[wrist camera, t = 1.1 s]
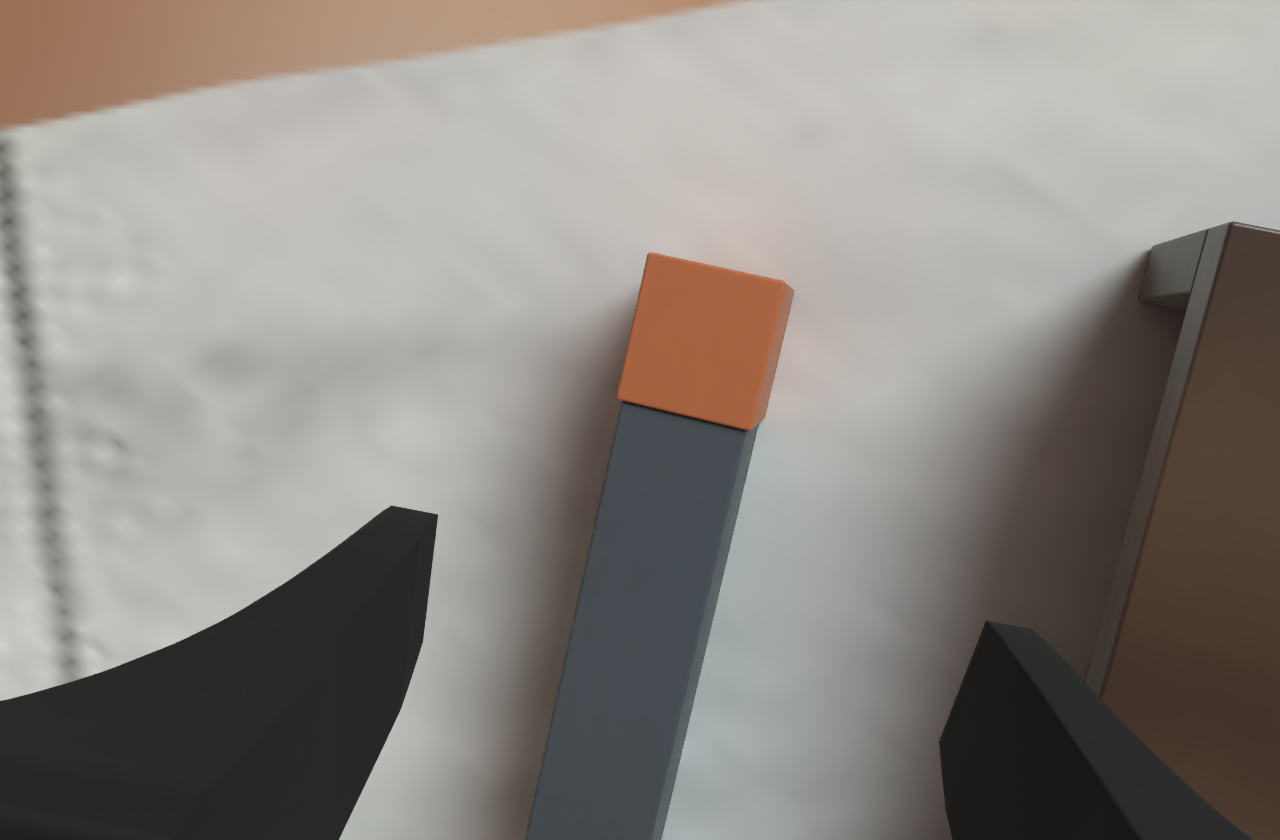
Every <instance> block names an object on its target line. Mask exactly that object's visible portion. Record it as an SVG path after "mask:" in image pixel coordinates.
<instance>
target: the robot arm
mask: <svg viewBox="0 0 1280 840" xmlns="http://www.w3.org/2000/svg"><path fill="white" fill-rule="evenodd" d="M437 519H438V515H437V514H432V513H427V512H422V511H417V510H412V509H406V508H401V507H396V506H390V507H389V508H387V509H385V510H384V511H382V512H381V513H380V514H378V515H377V516H376V517H374V518H373V519H372V520H370V521H369V522H368V523H367V524H365V525H364V526H363V527H362V528H360V529H359V530H358V531H356V532H355V533H354V534H353V535H351V536H350V537H349V538H347V539H346V540H345V541H343V542H342V543H341V544H339V545H338V546H337V547H335V548H334V549H333V550H331V551H330V552H329V553H327V554H326V555H324V556H323V557H322V558H320V559H319V560H317V561H316V562H315V563H313V564H312V565H310V566H309V567H307V568H306V569H305V570H303V571H302V572H300V573H299V574H298V575H296V576H295V577H293V578H292V579H290V580H289V581H287V582H286V583H284V584H283V585H281V586H279V587H278V588H276V589H275V590H273V591H271V592H270V593H268V594H267V595H265V596H263V597H262V598H260V599H259V600H257V601H255V602H254V603H252V604H250V605H249V606H247V607H246V608H244V609H242V610H241V611H239V612H237V613H235V614H234V615H232V616H230V617H228V618H226V619H224V620H223V621H221V622H219V623H217V624H215V625H213V626H211V627H209V628H207V629H204V630H202V631H200V632H198V633H196V634H194V635H192V636H190V637H188V638H186V639H184V640H182V641H179V642H177V643H175V644H173V645H170V646H168V647H165V648H163V649H160V650H158V651H155V652H152V653H150V654H147V655H145V656H142V657H140V658H137V659H135V660H132V661H130V662H127V663H125V664H122V665H120V666H117V667H115V668H112V669H109V670H106V671H103V672H101V673H98V674H94V675H91V676H88V677H85V678H82V679H79V680H76V681H73V682H70V683H66V684H63V685H59V686H56V687H53V688H49V689H46V690H42V691H39V692H35V693H32V694H28V695H24V696H20V697H16V698H12V699H8V700H3V701H0V840H339V838H340V836H341V834H342V832H343V830H344V828H345V825H346V823H347V821H348V819H349V817H350V815H351V813H352V811H353V809H354V807H355V805H356V802H357V800H358V798H359V796H360V794H361V792H362V790H363V788H364V786H365V784H366V782H367V779H368V777H369V775H370V773H371V771H372V769H373V767H374V765H375V763H376V761H377V759H378V756H379V754H380V752H381V750H382V748H383V746H384V744H385V742H386V740H387V737H388V735H389V733H390V731H391V729H392V727H393V725H394V723H395V720H396V718H397V716H398V714H399V712H400V710H401V707H402V704H403V701H404V698H405V695H406V692H407V689H408V686H409V683H410V680H411V677H412V674H413V671H414V668H415V665H416V662H417V659H418V656H419V652H420V649H421V646H422V643H423V636H424V628H425V619H426V611H427V603H428V594H429V586H430V578H431V569H432V561H433V552H434V544H435V536H436V527H437ZM939 745H940V757H941V769H942V781H943V789H944V798H945V806H946V814H947V818H948V822H949V827H950V831H951V835H952V839H953V840H1252V839H1251V838H1250V837H1249V836H1247V835H1246V834H1245V833H1244V832H1242V831H1241V830H1240V829H1239V828H1237V827H1236V826H1235V825H1234V824H1233V823H1231V822H1230V821H1229V820H1228V819H1226V818H1225V817H1224V816H1223V815H1221V814H1220V813H1219V812H1218V811H1217V810H1216V809H1214V808H1213V807H1212V806H1211V805H1210V804H1209V803H1207V802H1206V801H1205V800H1204V799H1203V798H1202V797H1201V796H1199V795H1198V794H1197V793H1196V792H1195V791H1194V790H1193V789H1192V788H1191V787H1190V786H1189V785H1187V784H1186V783H1185V782H1184V781H1183V780H1182V779H1181V778H1180V777H1179V776H1178V775H1177V774H1176V773H1174V772H1173V771H1172V770H1171V769H1170V768H1169V767H1168V766H1167V765H1166V764H1165V763H1164V762H1163V761H1162V760H1160V759H1159V758H1158V757H1157V756H1156V755H1155V754H1154V753H1153V752H1152V751H1151V750H1150V749H1149V748H1148V747H1147V746H1146V745H1145V744H1144V743H1143V742H1142V741H1141V740H1140V739H1139V738H1138V737H1137V736H1136V735H1135V734H1134V733H1133V732H1132V731H1131V730H1130V729H1129V728H1128V727H1127V726H1126V725H1125V724H1124V723H1123V722H1122V721H1121V720H1120V719H1119V718H1118V717H1117V716H1116V715H1115V714H1114V713H1113V711H1112V710H1111V709H1110V708H1109V707H1108V706H1107V705H1106V704H1105V703H1104V702H1103V701H1102V700H1101V699H1100V698H1099V697H1098V696H1097V695H1096V694H1095V693H1094V692H1093V691H1092V689H1091V688H1090V687H1089V686H1088V685H1087V684H1086V683H1085V682H1084V681H1083V680H1082V679H1081V678H1080V677H1079V676H1078V675H1077V674H1076V673H1075V672H1074V670H1073V669H1072V668H1071V667H1070V666H1069V665H1068V664H1067V663H1066V662H1065V661H1064V660H1063V659H1062V658H1061V657H1060V656H1059V655H1058V654H1057V653H1056V652H1055V651H1054V650H1053V649H1052V648H1051V647H1050V646H1049V645H1048V644H1047V643H1046V642H1045V641H1044V640H1043V639H1042V638H1041V637H1040V636H1039V635H1038V634H1036V633H1035V632H1034V631H1033V630H1031V629H1026V628H1021V627H1015V626H1010V625H1005V624H1000V623H995V622H990V621H986V622H985V625H984V627H983V630H982V633H981V635H980V638H979V640H978V643H977V645H976V648H975V651H974V653H973V656H972V658H971V661H970V663H969V666H968V669H967V671H966V674H965V676H964V679H963V681H962V684H961V687H960V689H959V692H958V694H957V697H956V699H955V702H954V705H953V707H952V710H951V712H950V715H949V717H948V720H947V723H946V725H945V728H944V730H943V733H942V735H941V738H940V741H939Z"/></svg>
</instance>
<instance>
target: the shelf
mask: <svg viewBox="0 0 1280 840" xmlns="http://www.w3.org/2000/svg"><path fill="white" fill-rule="evenodd" d="M1138 298H1139V300H1140V301H1142V302H1147V303H1152V304H1157V305H1161V306H1166V307H1171V308H1176V309H1181V310H1185V311H1186V314H1185V318H1184V322H1183V325H1182V329H1181V333H1180V336H1179V340H1178V344H1177V347H1176V351H1175V355H1174V358H1173V362H1172V366H1171V369H1170V373H1169V377H1168V380H1167V384H1166V388H1165V391H1164V395H1163V398H1162V402H1161V406H1160V409H1159V413H1158V417H1157V420H1156V424H1155V428H1154V431H1153V435H1152V439H1151V442H1150V446H1149V450H1148V453H1147V457H1146V461H1145V464H1144V468H1143V472H1142V475H1141V479H1140V483H1139V486H1138V490H1137V494H1136V497H1135V501H1134V504H1133V508H1132V512H1131V515H1130V519H1129V523H1128V526H1127V530H1126V534H1125V537H1124V541H1123V545H1122V548H1121V552H1120V556H1119V559H1118V563H1117V567H1116V570H1115V574H1114V578H1113V581H1112V585H1111V589H1110V592H1109V596H1108V600H1107V603H1106V607H1105V611H1104V614H1103V618H1102V621H1101V625H1100V629H1099V632H1098V636H1097V640H1096V643H1095V647H1094V651H1093V654H1092V658H1091V662H1090V665H1089V669H1088V673H1087V676H1086V680H1085V683H1086V684H1087V685H1088V686H1089V687H1090V688H1091V689H1092V691H1093V692H1094V693H1095V694H1096V695H1097V696H1098V697H1099V698H1100V699H1101V700H1102V701H1103V702H1104V703H1105V704H1106V705H1107V706H1108V707H1109V708H1110V709H1111V710H1112V711H1113V713H1114V714H1115V715H1116V716H1117V717H1118V718H1119V719H1120V720H1121V721H1122V722H1123V723H1124V724H1125V725H1126V726H1127V727H1128V728H1129V729H1130V730H1131V731H1132V732H1133V733H1134V734H1135V735H1136V736H1137V737H1138V738H1139V739H1140V740H1141V741H1142V742H1143V743H1144V744H1145V745H1146V746H1147V747H1148V748H1149V749H1150V750H1151V751H1152V752H1153V753H1154V754H1155V755H1156V756H1157V757H1158V758H1159V759H1160V760H1162V761H1163V762H1164V763H1165V764H1166V765H1167V766H1168V767H1169V768H1170V769H1171V770H1172V771H1173V772H1174V773H1176V774H1177V775H1178V776H1179V777H1180V778H1181V779H1182V780H1183V781H1184V782H1185V783H1186V784H1187V785H1189V786H1190V787H1191V788H1192V789H1193V790H1194V791H1195V792H1196V793H1197V794H1198V795H1199V796H1201V797H1202V798H1203V799H1204V800H1205V801H1206V802H1207V803H1209V804H1210V805H1211V806H1212V807H1213V808H1214V809H1216V810H1217V811H1218V812H1219V813H1220V814H1221V815H1223V816H1224V817H1225V818H1226V819H1228V820H1229V821H1230V822H1231V823H1233V824H1234V825H1235V826H1236V827H1237V828H1239V829H1240V830H1241V831H1242V832H1244V833H1245V834H1246V835H1247V836H1249V837H1250V838H1251V839H1252V840H1280V230H1275V229H1269V228H1264V227H1259V226H1254V225H1249V224H1244V223H1239V222H1229V223H1226V224H1223V225H1219V226H1216V227H1213V228H1210V229H1206V230H1203V231H1199V232H1196V233H1193V234H1190V235H1186V236H1183V237H1180V238H1177V239H1174V240H1170V241H1167V242H1164V243H1161V244H1157V245H1154V246H1153V247H1152V249H1151V252H1150V256H1149V260H1148V264H1147V267H1146V271H1145V275H1144V279H1143V282H1142V286H1141V290H1140V293H1139V297H1138Z"/></svg>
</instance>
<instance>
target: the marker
mask: <svg viewBox="0 0 1280 840" xmlns="http://www.w3.org/2000/svg"><path fill="white" fill-rule="evenodd" d="M793 295H794V290H793V289H792V288H791V287H790V286H789V285H788V284H787V283H786V282H784V281H781V280H776V279H772V278H767V277H762V276H758V275H753V274H748V273H744V272H739V271H734V270H730V269H725V268H721V267H716V266H711V265H707V264H702V263H697V262H693V261H688V260H684V259H679V258H674V257H670V256H665V255H660V254H656V253H648V255H647V259H646V264H645V268H644V273H643V278H642V282H641V287H640V291H639V296H638V300H637V305H636V309H635V314H634V318H633V323H632V328H631V332H630V337H629V341H628V346H627V350H626V355H625V359H624V364H623V369H622V373H621V378H620V382H619V387H618V391H617V396H616V397H617V399H618V400H621V401H622V403H621V405H620V410H619V414H618V419H617V424H616V428H615V433H614V437H613V442H612V446H611V451H610V455H609V460H608V464H607V469H606V473H605V478H604V483H603V487H602V492H601V496H600V501H599V505H598V510H597V514H596V519H595V523H594V528H593V532H592V537H591V542H590V546H589V551H588V555H587V560H586V564H585V569H584V573H583V578H582V582H581V587H580V591H579V596H578V601H577V605H576V610H575V614H574V619H573V623H572V628H571V632H570V637H569V641H568V646H567V650H566V655H565V660H564V664H563V669H562V673H561V678H560V682H559V687H558V691H557V696H556V700H555V705H554V709H553V714H552V719H551V723H550V728H549V732H548V737H547V741H546V746H545V750H544V755H543V759H542V764H541V768H540V773H539V778H538V782H537V787H536V791H535V796H534V800H533V805H532V809H531V814H530V818H529V823H528V827H527V832H526V837H525V840H661V838H662V834H663V830H664V825H665V821H666V817H667V813H668V808H669V804H670V800H671V796H672V791H673V787H674V783H675V778H676V774H677V770H678V766H679V761H680V757H681V753H682V749H683V744H684V740H685V736H686V732H687V727H688V723H689V719H690V714H691V710H692V706H693V702H694V697H695V693H696V689H697V685H698V680H699V676H700V672H701V668H702V663H703V659H704V655H705V650H706V646H707V642H708V638H709V633H710V629H711V625H712V621H713V616H714V612H715V608H716V604H717V599H718V595H719V591H720V587H721V582H722V578H723V574H724V569H725V565H726V561H727V557H728V552H729V548H730V544H731V540H732V535H733V531H734V527H735V523H736V518H737V514H738V510H739V505H740V501H741V497H742V493H743V488H744V484H745V480H746V476H747V471H748V467H749V463H750V459H751V454H752V450H753V446H754V441H755V437H756V433H757V429H758V424H759V423H760V422H761V421H762V420H763V419H764V418H765V414H766V410H767V406H768V401H769V397H770V393H771V389H772V384H773V380H774V376H775V372H776V367H777V363H778V359H779V355H780V350H781V346H782V342H783V338H784V333H785V329H786V325H787V320H788V316H789V312H790V308H791V303H792V299H793Z"/></svg>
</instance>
